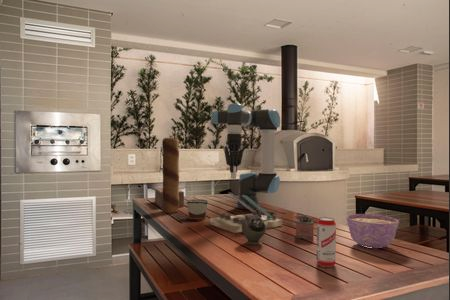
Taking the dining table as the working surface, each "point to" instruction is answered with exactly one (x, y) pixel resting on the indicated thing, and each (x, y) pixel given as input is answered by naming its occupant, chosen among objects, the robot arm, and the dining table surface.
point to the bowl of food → (372, 229)
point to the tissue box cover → (160, 197)
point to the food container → (197, 208)
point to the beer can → (326, 242)
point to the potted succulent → (304, 227)
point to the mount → (236, 221)
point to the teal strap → (257, 206)
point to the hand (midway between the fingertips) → (233, 178)
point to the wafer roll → (170, 175)
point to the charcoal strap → (243, 203)
